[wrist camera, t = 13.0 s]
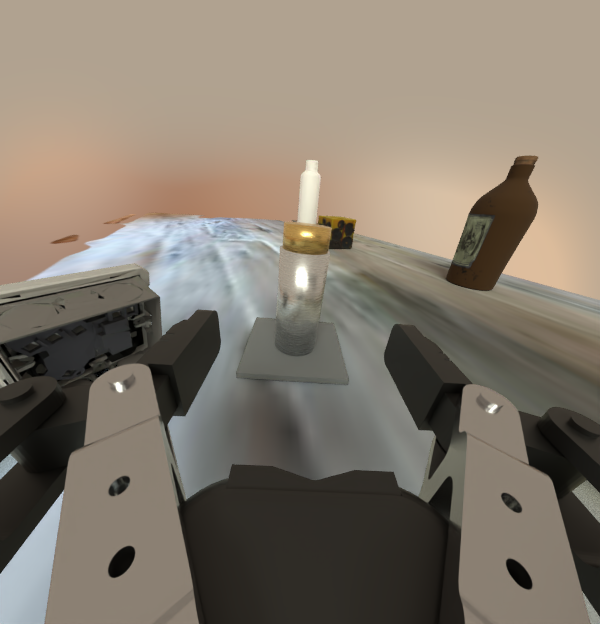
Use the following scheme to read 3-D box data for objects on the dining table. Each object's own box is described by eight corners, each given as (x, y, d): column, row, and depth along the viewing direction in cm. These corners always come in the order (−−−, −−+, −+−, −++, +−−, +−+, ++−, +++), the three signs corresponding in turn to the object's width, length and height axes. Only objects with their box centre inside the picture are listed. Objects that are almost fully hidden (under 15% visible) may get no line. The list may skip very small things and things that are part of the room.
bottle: (303, 234, 103) (309, 163, 90) (317, 236, 99) (326, 163, 86) (292, 235, 97) (297, 159, 84) (308, 238, 93) (315, 159, 80)
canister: (313, 334, 26) (330, 225, 20) (316, 357, 22) (337, 231, 16) (276, 330, 25) (283, 220, 20) (272, 354, 21) (279, 224, 16)
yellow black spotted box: (337, 243, 87) (341, 216, 83) (352, 249, 79) (357, 219, 75) (314, 243, 83) (317, 215, 79) (328, 249, 75) (332, 218, 71)
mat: (333, 327, 29) (333, 323, 28) (347, 384, 20) (348, 379, 19) (256, 321, 28) (256, 317, 28) (236, 377, 19) (236, 372, 19)
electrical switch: (151, 342, 23) (130, 255, 18) (182, 366, 21) (168, 275, 16) (12, 404, 15) (-82, 285, 11) (40, 450, 13) (-61, 329, 9)
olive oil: (474, 278, 57) (528, 164, 45) (507, 293, 47) (587, 154, 36) (434, 274, 57) (478, 159, 45) (460, 289, 47) (525, 148, 36)
